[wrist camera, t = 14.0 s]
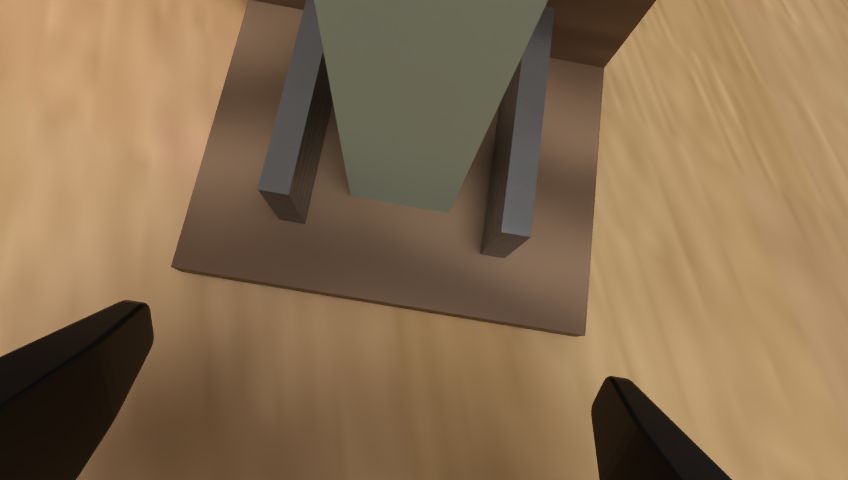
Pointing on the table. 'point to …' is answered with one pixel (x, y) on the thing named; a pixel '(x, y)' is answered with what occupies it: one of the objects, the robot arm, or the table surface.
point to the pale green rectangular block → (419, 88)
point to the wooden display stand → (398, 224)
